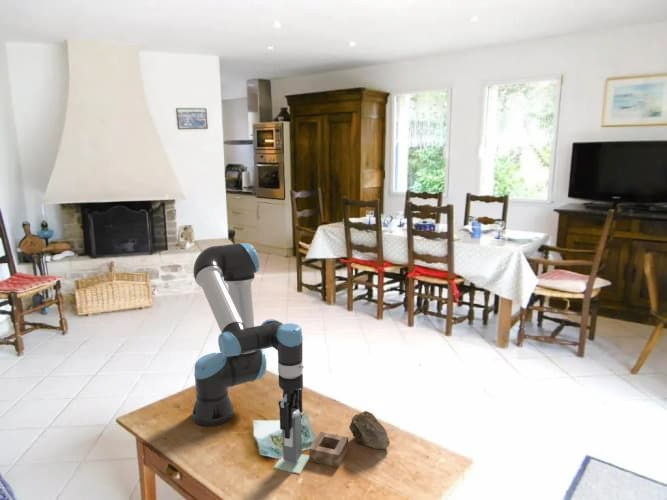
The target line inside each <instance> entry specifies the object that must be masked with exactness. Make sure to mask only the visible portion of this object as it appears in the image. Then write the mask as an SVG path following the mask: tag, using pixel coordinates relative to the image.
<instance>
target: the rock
mask: <svg viewBox="0 0 667 500" xmlns="http://www.w3.org/2000/svg"><path fill="white" fill-rule="evenodd" d="M349 430H350V432H351V434H352V436H353V438H354V439H355V441H356V442H357V444H359V445H363V446H364V447H370V448H373V449H375V450H385V449H387V448H388V447H389V446H390V445H391V444H390V443H391V442H390V438H389V437H388V434H387V433H388V431H387V430H386V428H385V426H383V425H382V423H381V422H380V421H379V420H378V419H377V418H376V416H375V415H374V414H373V413H372V412H370V411H366V410H365V411H361V412H360V413H357V414H354V416H353V417H352V418H351V422H350V424H349Z"/></svg>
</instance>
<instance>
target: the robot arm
mask: <svg viewBox="0 0 667 500" xmlns="http://www.w3.org/2000/svg"><path fill="white" fill-rule="evenodd" d="M259 271H260V259H259V254H258V252H257V250H256V249H255V246H253V245H252V244H251V243H245V242H243V243H242V242H241V243H232V244H224V245H223V244H222V245H214V246H212V245H211V246H209V247H207V248H205V249H203V251H201V252H200V253H199V254H198V256H197V257H196V259H195V262H194V264H193V277H194V280H195V282H196V285H197V286H199V287H201V289H202V291H203V293H204V295H205V298H206V300H207V303H208V305H209V307H210V309H211V312H212V314H213V317H214V319H215V321H216V323H217V325H218V328H219V330H220V332H221V333H219V335H218V338H217V339H218V340H217V342H218V348H219V352H211V353H208V354H205V355H203V356H201V357H199V358H198V359H197V361H196V362H195V364H194V380H195V381H194V382H195V396H196V399H195V402H194V405H193V409H192V420H193V422H194V423H195V424H197V425H199V426H203V427H213V426H215V427H216V426H219V425H221V424H225V423H226V422H228V421H230V420H231V419H232V417H233V416H234V412H235V411H234V404H233V402H232V401H231V398H230V395H229V388H231V387H235V386H239V385H243V384H246V383H253V382H254V381H257V380H261V379H262V378H264V375H265V374H266V371H267V357H266V353H265V352H264V350H265V349H270V348H274V349H275V350H276V351H277V364H278V368H277V369H278V371H277V372H278V387H279V388H280V389H281V390H282V391H283V392H282V400H278V403H277V404H278V408H279V428H280V430H281V431H282V430H284V446H288V447H293V427H291V425H292V411H293V408H295V409H299V411H300V412H301V419H302V418H303V414H302V413H303V386H304V378H303V377H304V374H303V371H304V370H303V369H304V366H305V365H303V340H304V339H303V334H302V333H303V331H302V328H301V326H300V325H299V324H295V323H282V322H281V321H278V320H276V319H274V318H269V319H266V320H265V321H263V322H262V323H261V325H256V326H255V318H254V307H253V305H254V304H253V293H252V282H253V280H255V273H257V272H259ZM226 284H227V285H226ZM227 286H228V287H227Z"/></svg>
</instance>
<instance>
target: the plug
mask: <svg viewBox="0 0 667 500" xmlns="http://www.w3.org/2000/svg"><path fill="white" fill-rule="evenodd" d="M299 409H300V408H299ZM299 409H295V408H293V411H292V425H291V427H293V447H288V446H284V430H281V431H282V455H283V460H287V461H292V462H297V461H298V459H299V458H300V456H301V455H302V454H303V453H302V452H303V451H302V449H303V446H302V443H303V441H302V439H303V438H302V418H301V415H302V413H301V412H300V411H299Z"/></svg>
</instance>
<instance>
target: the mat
mask: <svg viewBox="0 0 667 500" xmlns="http://www.w3.org/2000/svg"><path fill="white" fill-rule="evenodd" d="M280 458H281V457H280ZM280 458H279V459H278V460H277V462H275V464H274V466H273V469H276V470H279V471H280V470H281V471H284V472H289V473H293V474H297V475H301V473H302V471H303V470H304V468H305V467H306V465H307V464H308V461H310V454H309V455H308V454H303V453H302V455H301V456H300V458H299V459H298V461H297V462H292V461H287V460H283V458H281V459H280Z"/></svg>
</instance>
